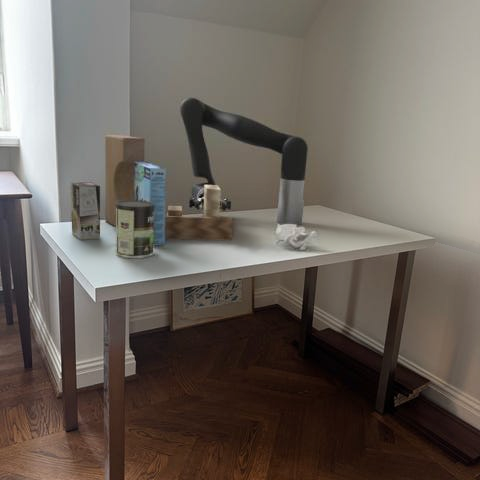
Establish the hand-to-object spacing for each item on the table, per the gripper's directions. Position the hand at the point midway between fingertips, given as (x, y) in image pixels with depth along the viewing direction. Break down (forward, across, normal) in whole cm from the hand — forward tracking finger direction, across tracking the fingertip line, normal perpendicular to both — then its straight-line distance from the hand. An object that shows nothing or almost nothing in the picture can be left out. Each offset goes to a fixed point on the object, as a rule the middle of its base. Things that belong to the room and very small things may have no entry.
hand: (211, 207), depth 153 cm
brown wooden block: (-1, -5, +10) cm, 11 cm away
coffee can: (+24, -23, +10) cm, 34 cm away
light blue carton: (+6, -20, +10) cm, 23 cm away
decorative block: (-10, -29, +10) cm, 32 cm away
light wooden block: (-1, 0, +10) cm, 10 cm away
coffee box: (+6, -39, +10) cm, 41 cm away
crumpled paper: (+12, +26, +10) cm, 30 cm away
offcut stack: (-1, -12, +10) cm, 15 cm away
